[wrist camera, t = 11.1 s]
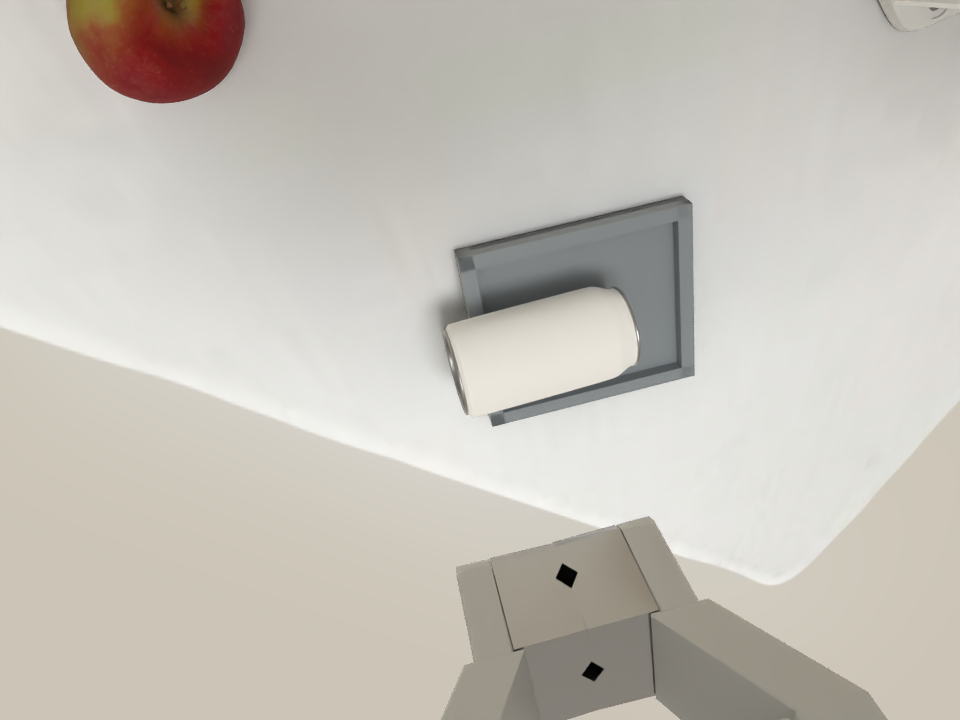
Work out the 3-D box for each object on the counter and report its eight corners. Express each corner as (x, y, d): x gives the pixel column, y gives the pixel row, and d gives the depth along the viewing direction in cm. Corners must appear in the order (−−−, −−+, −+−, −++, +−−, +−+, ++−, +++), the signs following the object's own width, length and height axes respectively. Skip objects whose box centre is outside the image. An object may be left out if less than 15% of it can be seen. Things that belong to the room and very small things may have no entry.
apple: (263, 83, 41) (251, 115, 34) (111, 89, 40) (67, 124, 33) (239, -74, 37) (219, -73, 30) (69, -72, 36) (9, -70, 29)
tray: (682, 196, 49) (692, 203, 48) (686, 365, 57) (694, 375, 55) (454, 250, 48) (457, 259, 47) (488, 415, 56) (492, 426, 54)
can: (465, 421, 51) (625, 376, 52) (470, 418, 44) (652, 366, 46) (440, 333, 52) (599, 291, 53) (442, 317, 45) (622, 269, 46)
